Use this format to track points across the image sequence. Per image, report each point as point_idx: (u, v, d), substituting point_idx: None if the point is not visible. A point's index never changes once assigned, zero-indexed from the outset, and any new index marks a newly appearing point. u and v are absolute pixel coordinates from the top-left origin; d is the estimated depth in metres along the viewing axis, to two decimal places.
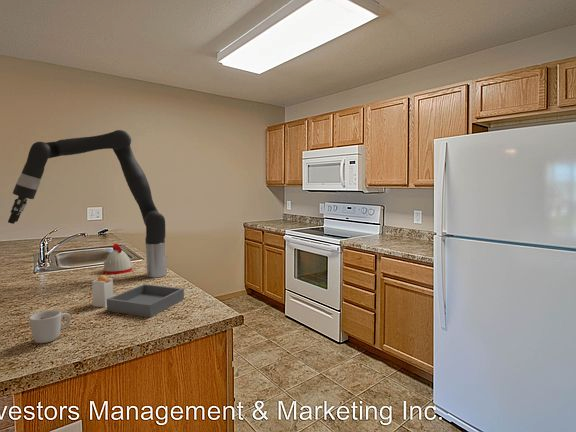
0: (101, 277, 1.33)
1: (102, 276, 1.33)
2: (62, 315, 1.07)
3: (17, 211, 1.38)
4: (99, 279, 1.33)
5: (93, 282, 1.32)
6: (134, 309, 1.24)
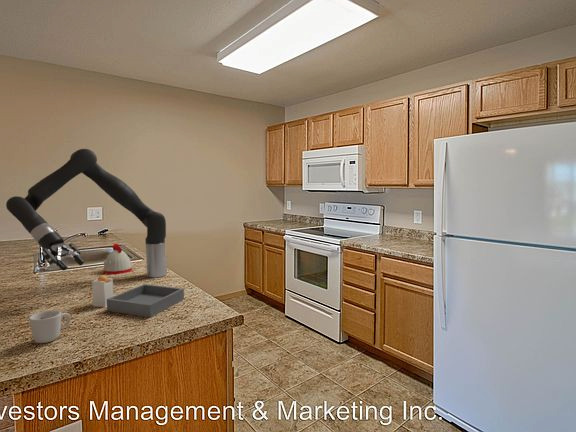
0: (101, 277, 1.33)
1: (102, 276, 1.33)
2: (62, 315, 1.07)
3: (51, 258, 1.28)
4: (99, 279, 1.32)
5: (93, 282, 1.32)
6: (134, 309, 1.24)
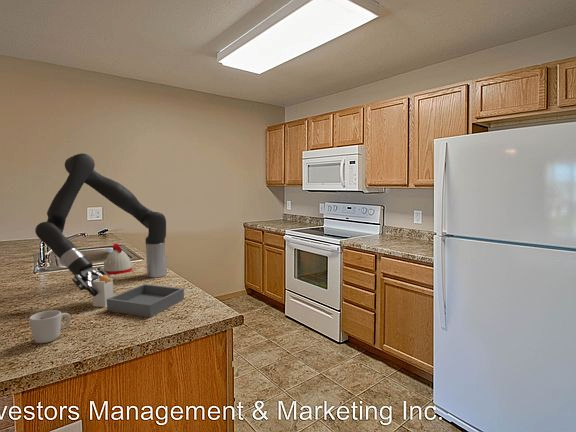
0: (104, 278, 1.33)
1: (105, 277, 1.33)
2: (62, 315, 1.07)
3: None
4: (101, 279, 1.32)
5: (93, 282, 1.32)
6: (134, 309, 1.24)
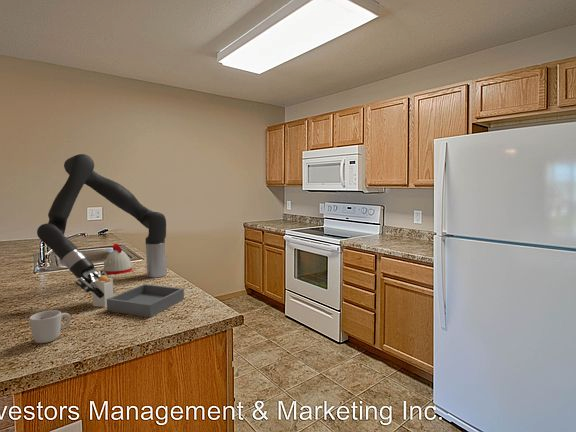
0: (102, 278, 1.32)
1: (103, 277, 1.33)
2: (62, 315, 1.07)
3: (88, 287, 1.29)
4: (100, 280, 1.32)
5: None
6: (134, 309, 1.24)
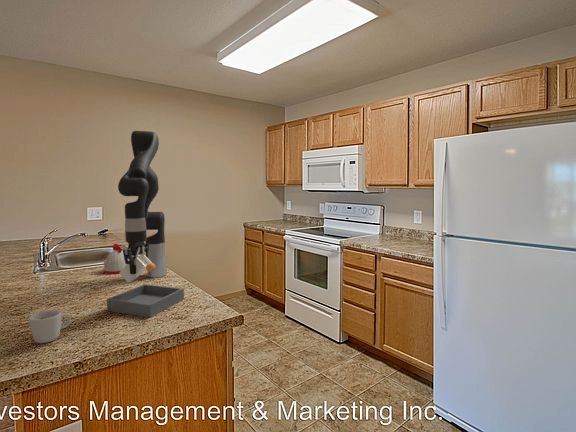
0: (147, 270, 1.31)
1: (148, 270, 1.31)
2: (62, 315, 1.07)
3: (130, 261, 1.27)
4: (148, 268, 1.30)
5: None
6: (134, 309, 1.24)
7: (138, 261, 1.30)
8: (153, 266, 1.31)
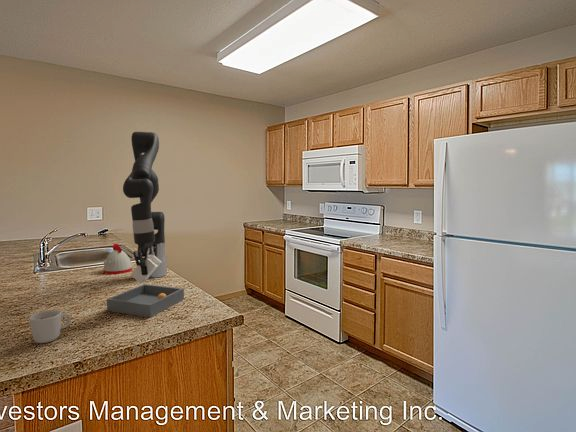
0: None
1: None
2: (62, 315, 1.07)
3: (141, 262, 1.28)
4: (159, 294, 1.35)
5: None
6: (134, 309, 1.24)
7: (149, 262, 1.31)
8: (158, 299, 1.34)
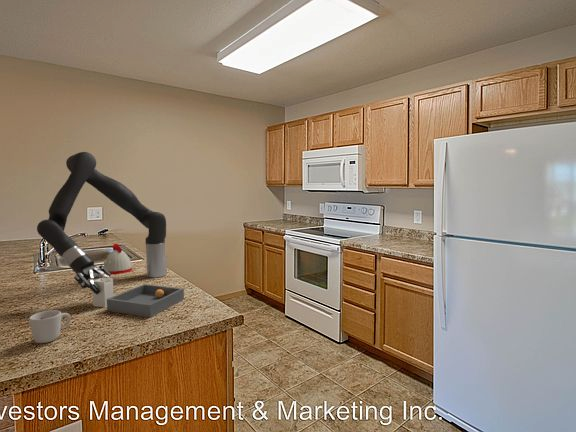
0: (159, 297, 1.39)
1: (160, 296, 1.39)
2: (62, 315, 1.07)
3: (85, 283, 1.28)
4: (157, 296, 1.39)
5: None
6: (134, 309, 1.24)
7: (97, 283, 1.32)
8: (155, 292, 1.40)
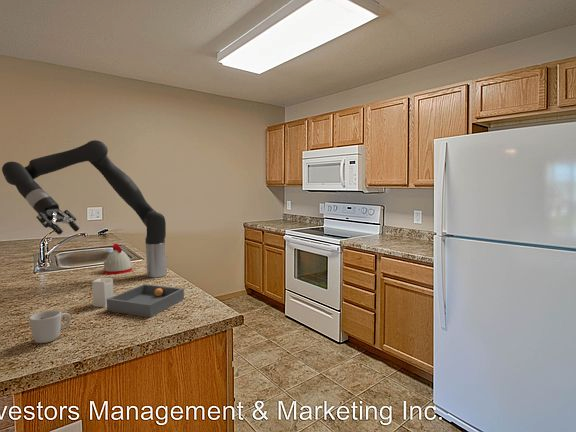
0: (158, 292, 1.40)
1: (159, 291, 1.40)
2: (62, 315, 1.07)
3: None
4: (156, 294, 1.40)
5: (93, 282, 1.32)
6: (134, 309, 1.24)
7: (97, 283, 1.32)
8: None
